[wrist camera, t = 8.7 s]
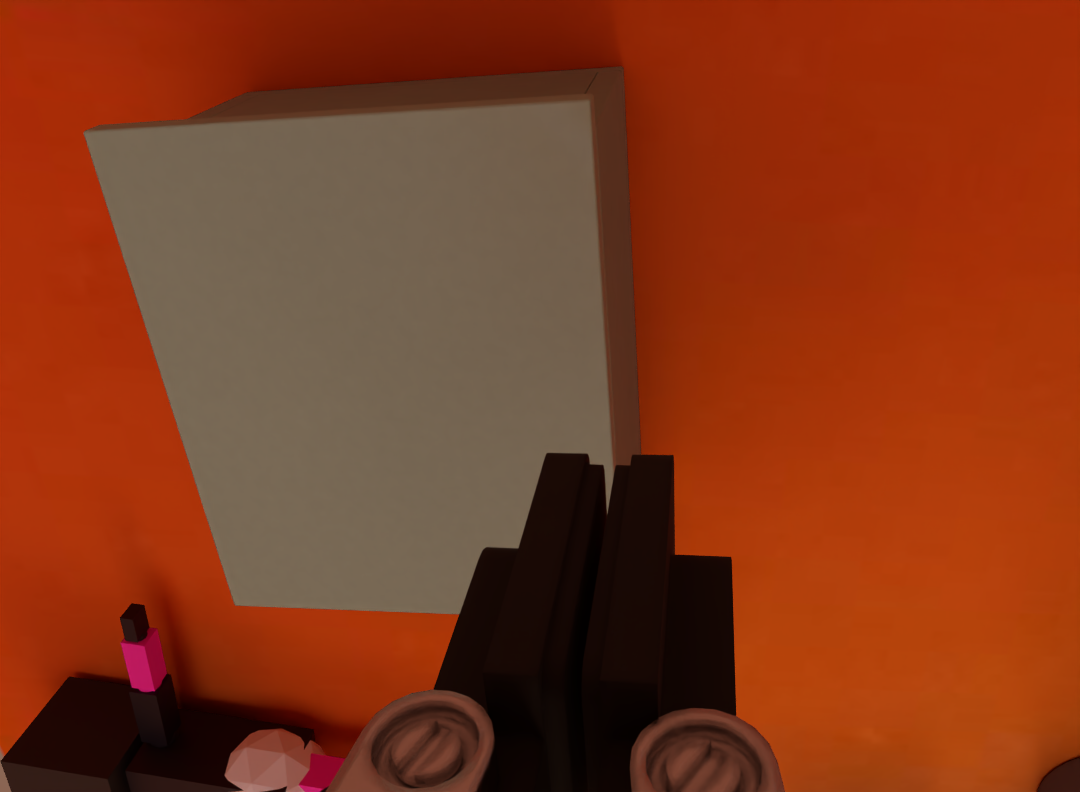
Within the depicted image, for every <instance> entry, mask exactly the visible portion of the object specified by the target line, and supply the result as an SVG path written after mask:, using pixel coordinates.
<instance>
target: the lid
mask: <svg viewBox="0 0 1080 792" xmlns="http://www.w3.org/2000/svg"><path fill="white" fill-rule="evenodd" d="M84 136H85V139H86V142H87V145H88V148H89V151H90V155H91V158H92V161H93V164H94V167H95V170H96V173H97V176H98V180H99V183H100V186H101V189H102V192H103V195H104V198H105V201H106V205H107V208H108V211H109V214H110V217H111V220H112V223H113V226H114V230H115V233H116V236H117V239H118V242H119V245H120V248H121V251H122V255H123V258H124V261H125V264H126V267H127V270H128V273H129V276H130V280H131V283H132V286H133V289H134V292H135V295H136V298H137V301H138V305H139V308H140V311H141V314H142V317H143V320H144V323H145V326H146V330H147V333H148V336H149V339H150V342H151V345H152V348H153V351H154V355H155V358H156V361H157V364H158V367H159V370H160V373H161V376H162V380H163V383H164V386H165V389H166V392H167V395H168V398H169V401H170V405H171V408H172V411H173V414H174V417H175V420H176V423H177V426H178V430H179V433H180V436H181V439H182V442H183V445H184V448H185V451H186V455H187V458H188V461H189V464H190V467H191V470H192V473H193V476H194V480H195V483H196V486H197V489H198V492H199V495H200V498H201V501H202V505H203V508H204V511H205V514H206V517H207V520H208V523H209V526H210V530H211V533H212V536H213V539H214V542H215V545H216V548H217V551H218V555H219V558H220V561H221V564H222V567H223V570H224V573H225V576H226V580H227V583H228V586H229V589H230V592H231V595H232V598H233V601H234V604H235V605H236V606H262V607H287V608H313V609H338V610H363V611H389V612H414V613H440V614H460V611H461V609H462V606H463V603H464V600H465V597H466V594H467V591H468V588H469V585H470V582H471V580H472V577H473V574H474V571H475V568H476V565H477V562H478V559H479V557H480V555H481V552H482V550H483V549H484V548H486V547H497V548H519V544H520V541H521V538H522V534H523V531H524V527H525V524H526V520H527V517H528V514H529V510H530V507H531V503H532V500H533V496H534V493H535V489H536V486H537V483H538V479H539V476H540V472H541V469H542V465H543V462H544V459H545V456H546V454H547V453H587V454H588V455H589V460H590V464H596V465H604V470H605V486H606V506H607V513H608V507H609V501H610V495H611V489H612V483H613V477H614V471H615V466H616V453H615V436H614V420H613V404H612V387H611V371H610V355H609V338H608V322H607V306H606V289H605V273H604V257H603V240H602V224H601V208H600V191H599V175H598V159H597V142H596V126H595V110H594V96H593V94H575V95H560V96H544V97H528V98H513V99H497V100H482V101H466V102H450V103H435V104H419V105H403V106H388V107H372V108H357V109H341V110H325V111H310V112H294V113H278V114H263V115H247V116H232V117H216V118H200V119H185V120H169V121H153V122H138V123H122V124H106V125H98V126H96V127H93V128H91V129H88V130H86V131H84Z"/></svg>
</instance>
